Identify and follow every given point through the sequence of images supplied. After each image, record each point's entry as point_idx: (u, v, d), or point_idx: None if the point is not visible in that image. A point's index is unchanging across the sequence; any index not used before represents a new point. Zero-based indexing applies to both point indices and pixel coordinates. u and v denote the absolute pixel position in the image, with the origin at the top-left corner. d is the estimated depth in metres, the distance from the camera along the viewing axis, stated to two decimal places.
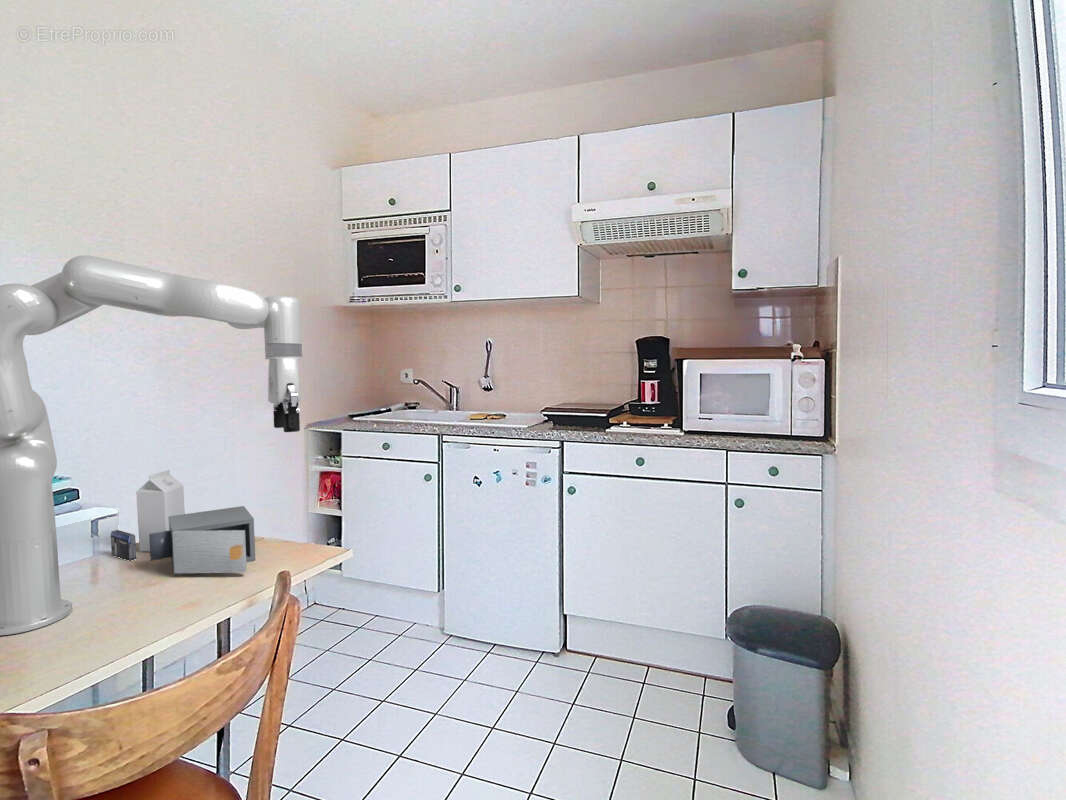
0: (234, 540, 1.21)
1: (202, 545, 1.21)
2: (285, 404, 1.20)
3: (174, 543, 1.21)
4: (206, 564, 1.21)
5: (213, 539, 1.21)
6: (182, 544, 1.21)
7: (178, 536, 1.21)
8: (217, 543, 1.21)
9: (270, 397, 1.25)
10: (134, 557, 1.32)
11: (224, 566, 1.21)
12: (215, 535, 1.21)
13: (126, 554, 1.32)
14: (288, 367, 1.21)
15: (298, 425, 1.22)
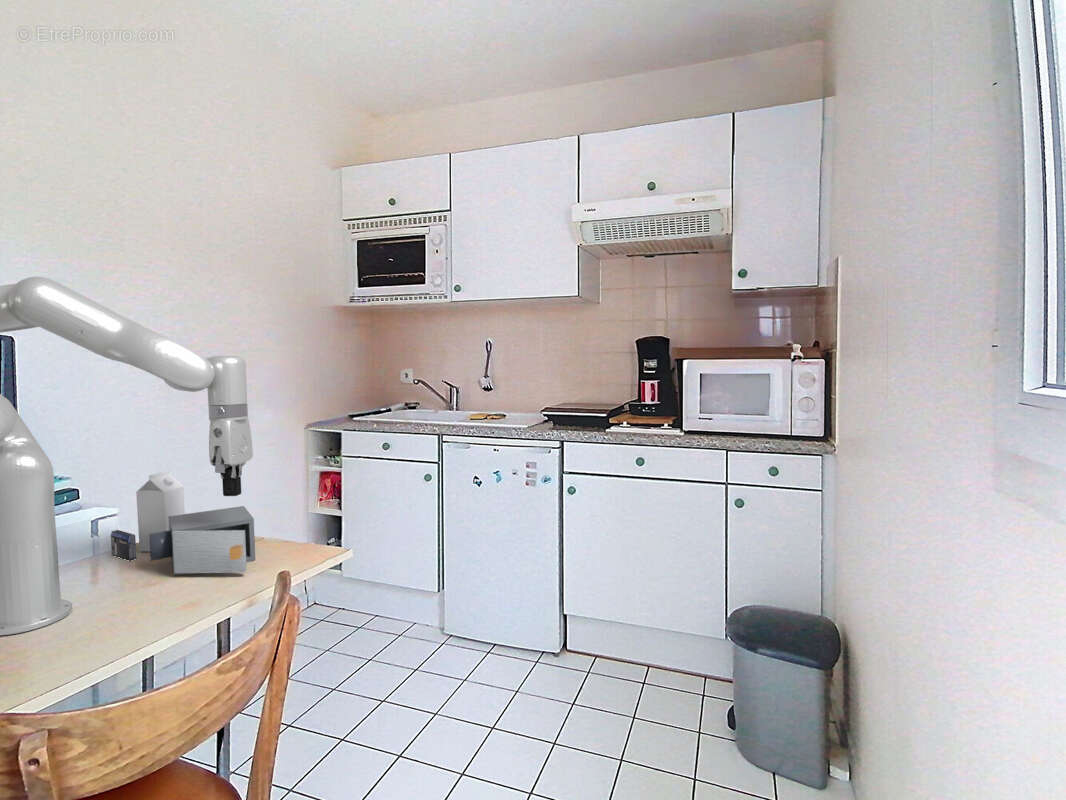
0: (234, 540, 1.21)
1: (202, 545, 1.21)
2: None
3: (174, 543, 1.21)
4: (206, 564, 1.21)
5: (213, 539, 1.21)
6: (182, 544, 1.21)
7: (178, 536, 1.21)
8: (217, 543, 1.21)
9: (240, 458, 1.22)
10: (134, 557, 1.32)
11: (224, 566, 1.21)
12: (215, 535, 1.21)
13: (126, 554, 1.32)
14: None
15: None
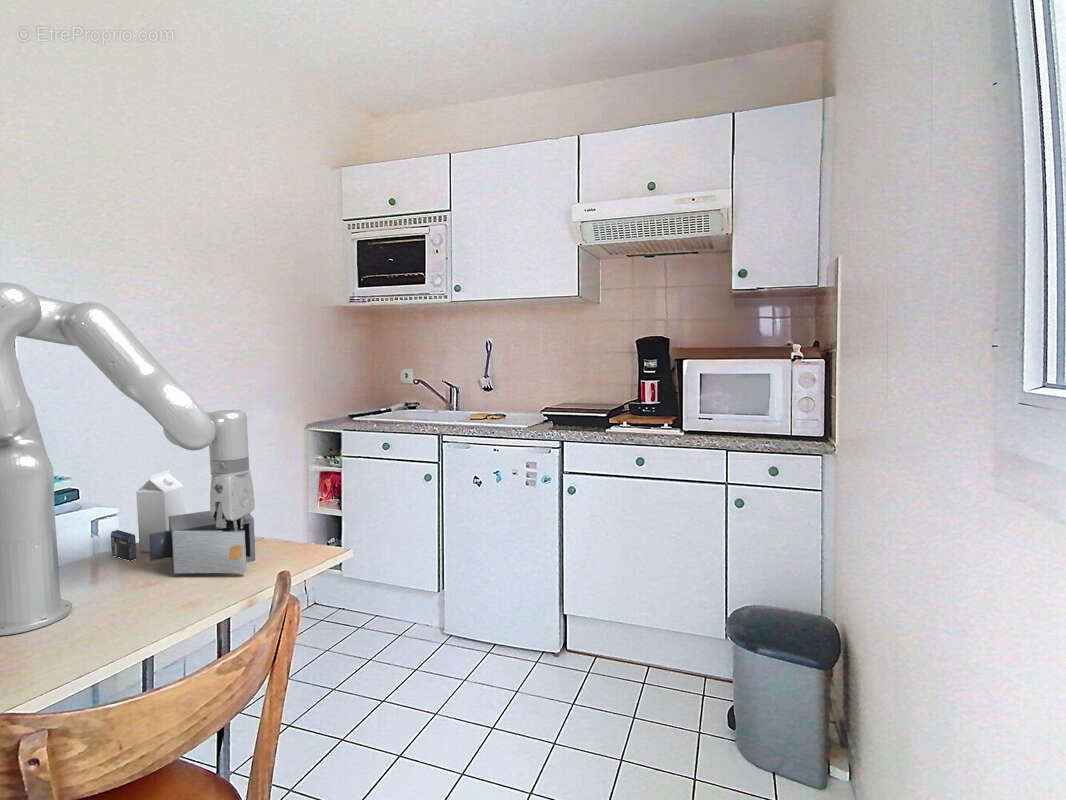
0: (234, 541, 1.21)
1: (202, 545, 1.21)
2: None
3: (174, 543, 1.21)
4: (206, 564, 1.21)
5: (213, 539, 1.21)
6: (182, 544, 1.21)
7: (178, 536, 1.21)
8: (217, 544, 1.21)
9: (241, 512, 1.23)
10: (134, 557, 1.32)
11: (223, 566, 1.21)
12: (214, 535, 1.21)
13: (126, 554, 1.32)
14: None
15: None
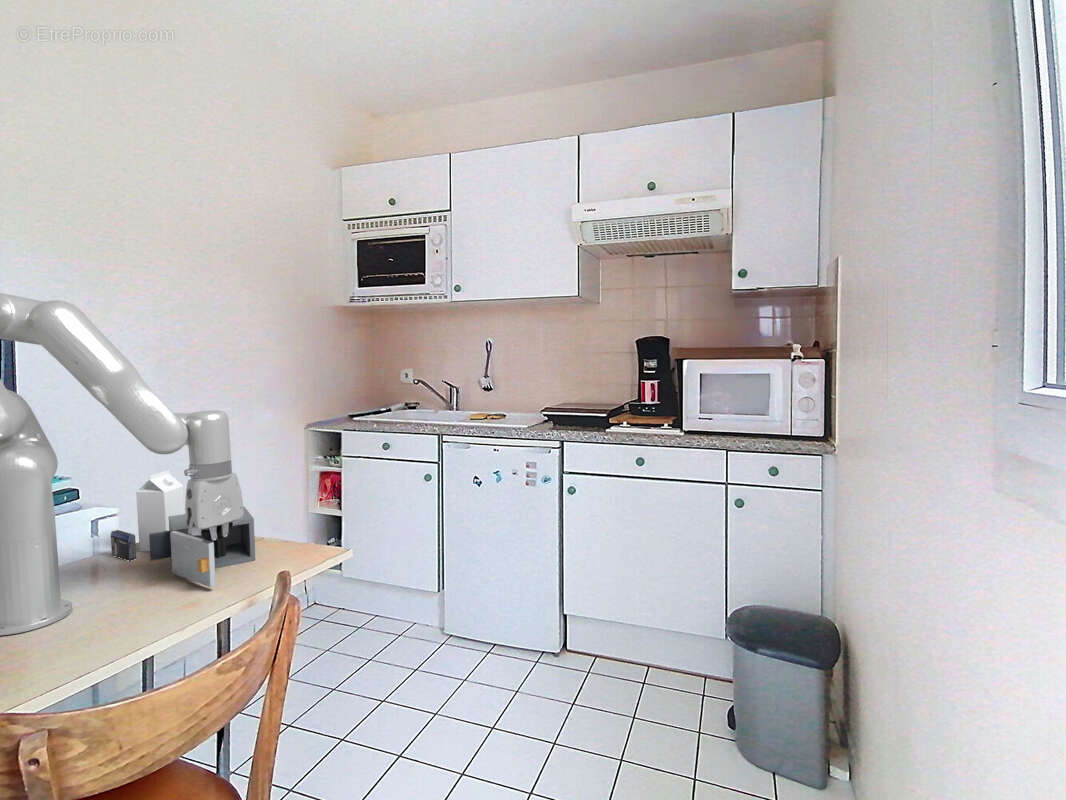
0: (204, 551, 1.14)
1: (186, 551, 1.18)
2: None
3: (171, 543, 1.21)
4: (189, 570, 1.18)
5: (192, 546, 1.16)
6: (175, 545, 1.20)
7: (173, 536, 1.20)
8: (194, 551, 1.16)
9: (216, 520, 1.15)
10: (134, 557, 1.32)
11: (198, 576, 1.16)
12: (193, 542, 1.16)
13: (126, 554, 1.32)
14: None
15: None
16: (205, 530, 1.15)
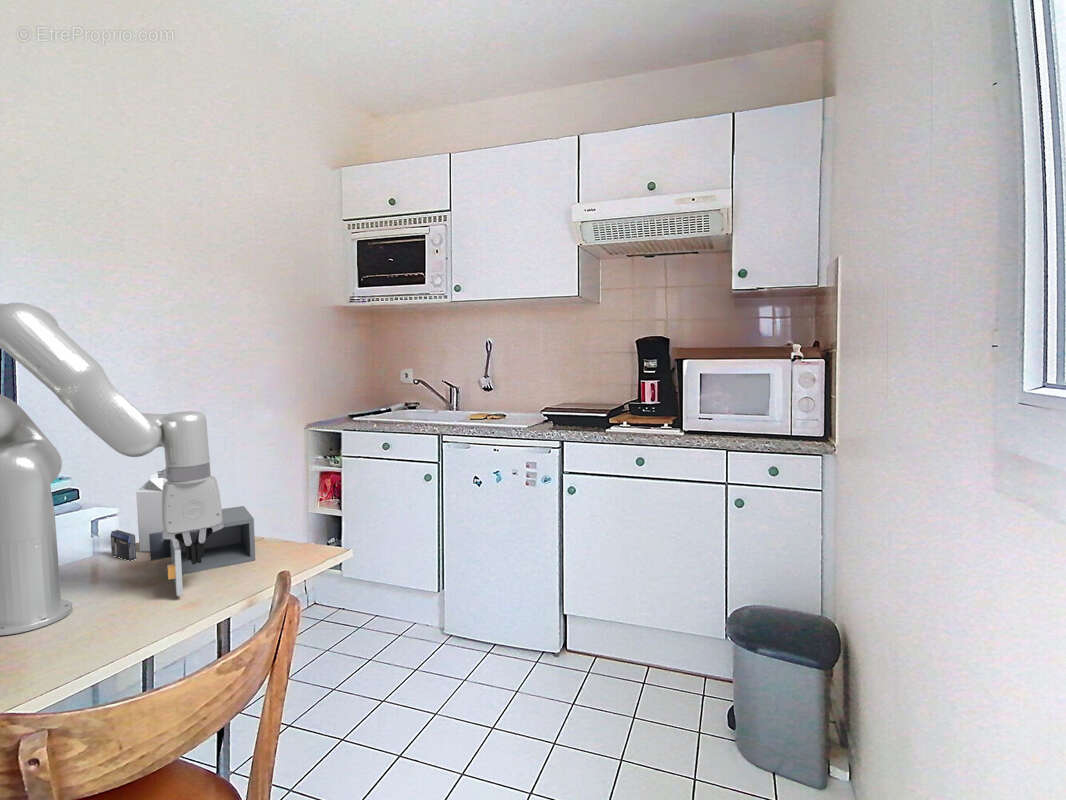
0: (174, 558, 1.10)
1: (172, 553, 1.16)
2: (205, 533, 1.14)
3: (170, 543, 1.21)
4: None
5: None
6: None
7: None
8: (173, 556, 1.13)
9: (186, 525, 1.11)
10: (134, 557, 1.32)
11: None
12: (172, 546, 1.14)
13: (126, 554, 1.32)
14: None
15: None
16: (178, 534, 1.12)
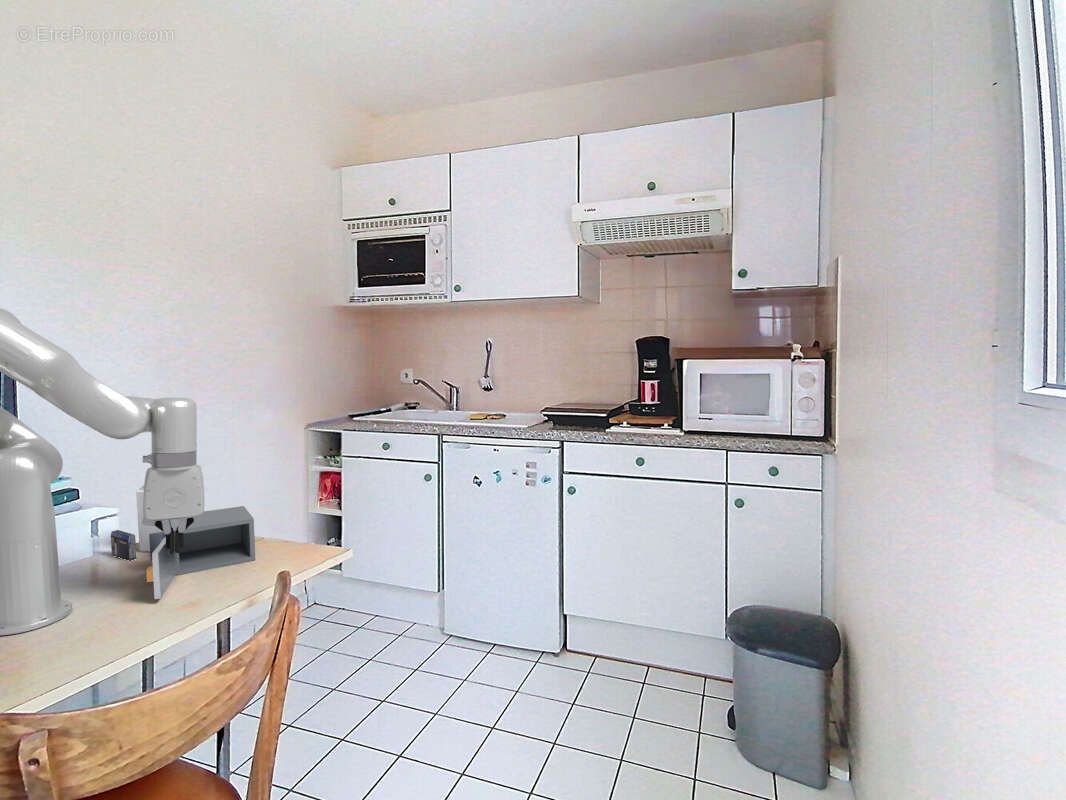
0: None
1: None
2: (186, 523, 1.12)
3: None
4: None
5: None
6: None
7: None
8: None
9: (165, 513, 1.09)
10: (134, 557, 1.32)
11: None
12: None
13: (126, 554, 1.32)
14: None
15: None
16: (158, 522, 1.10)
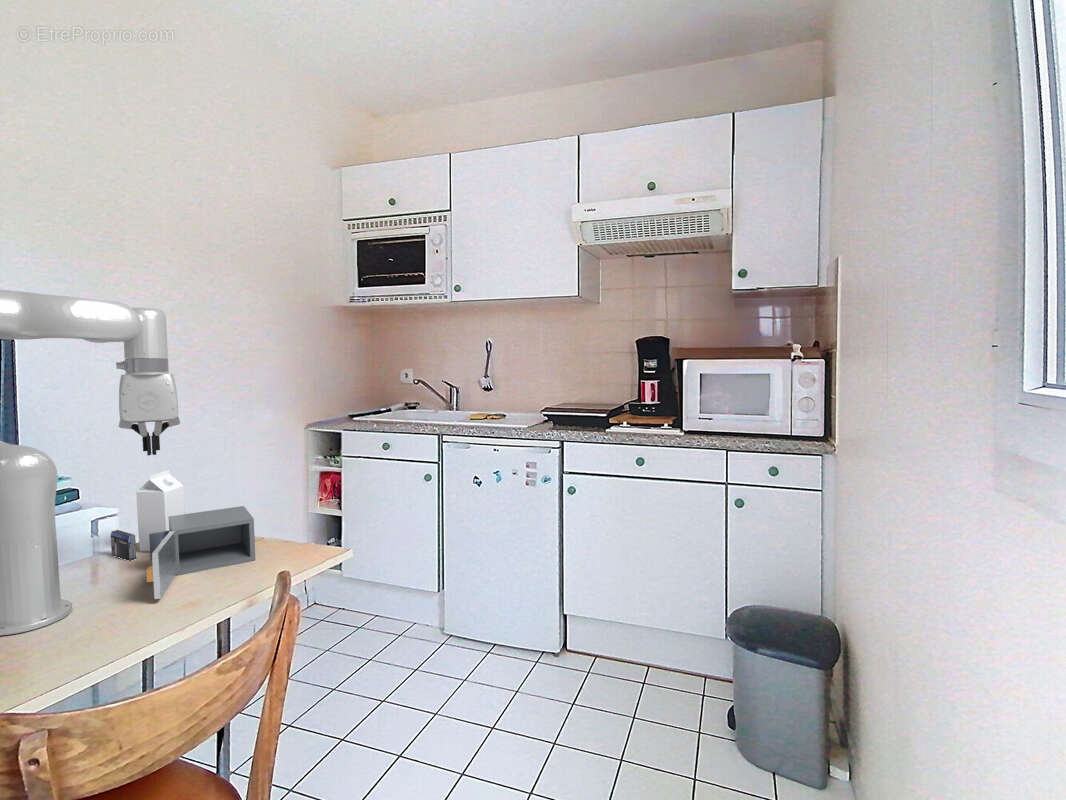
0: None
1: None
2: (161, 426, 1.19)
3: None
4: None
5: None
6: None
7: None
8: None
9: (141, 415, 1.16)
10: (134, 557, 1.32)
11: None
12: None
13: (126, 554, 1.32)
14: None
15: None
16: (134, 425, 1.17)
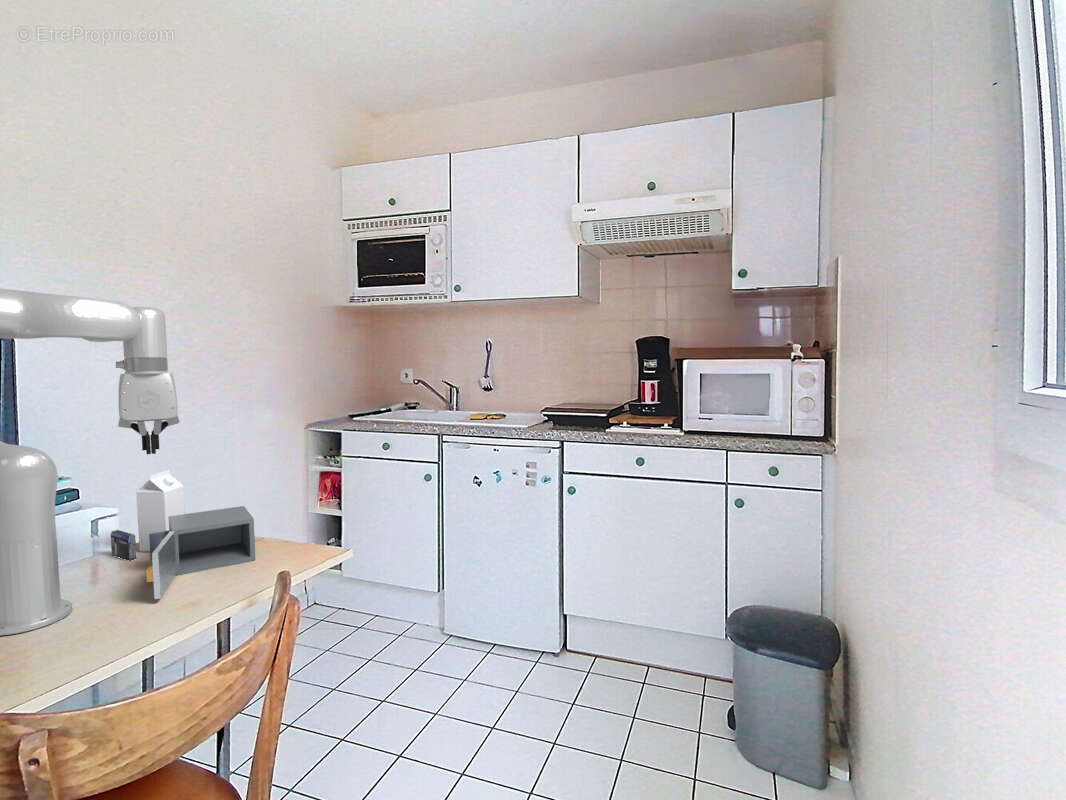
0: None
1: None
2: (160, 425, 1.19)
3: None
4: None
5: None
6: None
7: None
8: None
9: (141, 415, 1.16)
10: (134, 557, 1.32)
11: None
12: None
13: (126, 554, 1.32)
14: None
15: None
16: (134, 424, 1.17)
